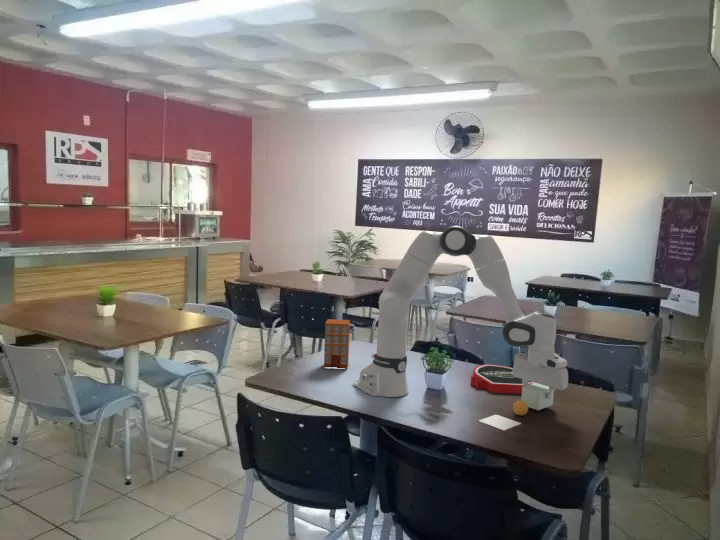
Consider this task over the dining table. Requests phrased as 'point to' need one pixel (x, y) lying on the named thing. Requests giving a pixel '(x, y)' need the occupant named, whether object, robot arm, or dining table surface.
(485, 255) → the robot arm
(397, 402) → the dining table surface
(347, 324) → the miniature building
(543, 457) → the dining table surface
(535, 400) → the pale green rectangular prism
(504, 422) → the mark
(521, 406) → the ball
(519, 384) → the emblem
